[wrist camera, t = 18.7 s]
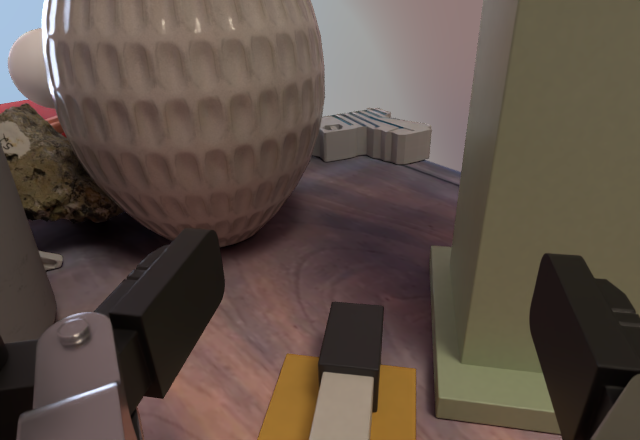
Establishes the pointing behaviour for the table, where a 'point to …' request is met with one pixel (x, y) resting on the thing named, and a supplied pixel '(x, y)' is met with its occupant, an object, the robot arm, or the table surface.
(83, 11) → the vase
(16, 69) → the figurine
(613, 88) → the green railed pedestal
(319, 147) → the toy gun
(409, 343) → the table surface
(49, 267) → the bracket
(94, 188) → the rock
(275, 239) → the table surface
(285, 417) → the mat
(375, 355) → the marker
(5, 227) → the water bottle
